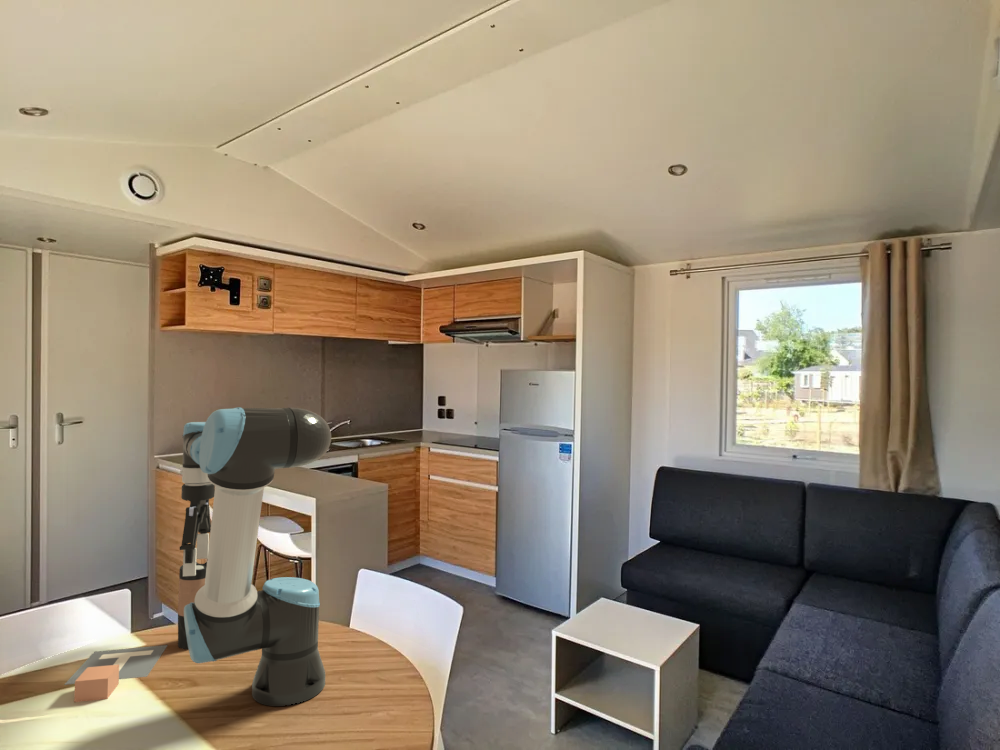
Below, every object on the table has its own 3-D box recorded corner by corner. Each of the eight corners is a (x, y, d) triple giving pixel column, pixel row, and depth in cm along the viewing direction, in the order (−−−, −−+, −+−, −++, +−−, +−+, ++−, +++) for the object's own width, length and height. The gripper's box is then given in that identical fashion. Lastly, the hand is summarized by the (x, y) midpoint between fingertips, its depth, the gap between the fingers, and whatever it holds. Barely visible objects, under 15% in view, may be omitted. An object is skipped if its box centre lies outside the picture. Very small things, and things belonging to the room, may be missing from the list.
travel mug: (185, 655, 142) (187, 572, 142) (171, 646, 146) (173, 566, 147) (216, 644, 148) (218, 565, 148) (202, 635, 152) (204, 559, 153)
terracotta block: (107, 702, 121) (108, 678, 121) (74, 705, 119) (74, 681, 119) (118, 687, 126) (119, 664, 127) (86, 690, 125) (87, 667, 125)
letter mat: (146, 679, 130) (147, 676, 130) (63, 687, 126) (64, 684, 126) (167, 647, 145) (167, 644, 145) (94, 653, 141) (94, 651, 141)
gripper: (194, 475, 159) (192, 552, 159) (167, 493, 135) (165, 584, 134) (224, 474, 161) (222, 551, 161) (203, 492, 137) (200, 582, 136)
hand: (196, 566), depth 148 cm, fingers open, 13 cm apart
